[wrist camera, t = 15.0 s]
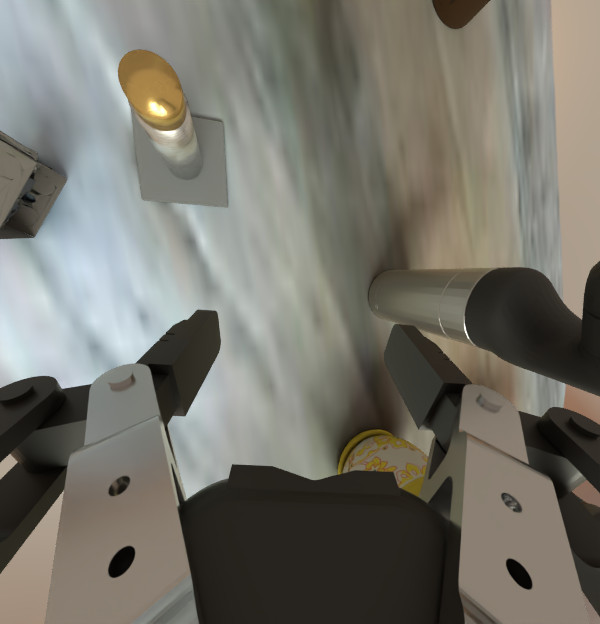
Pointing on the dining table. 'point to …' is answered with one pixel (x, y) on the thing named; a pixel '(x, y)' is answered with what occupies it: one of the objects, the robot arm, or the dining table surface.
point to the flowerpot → (385, 458)
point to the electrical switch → (24, 189)
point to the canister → (161, 111)
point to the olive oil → (458, 11)
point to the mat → (172, 189)
